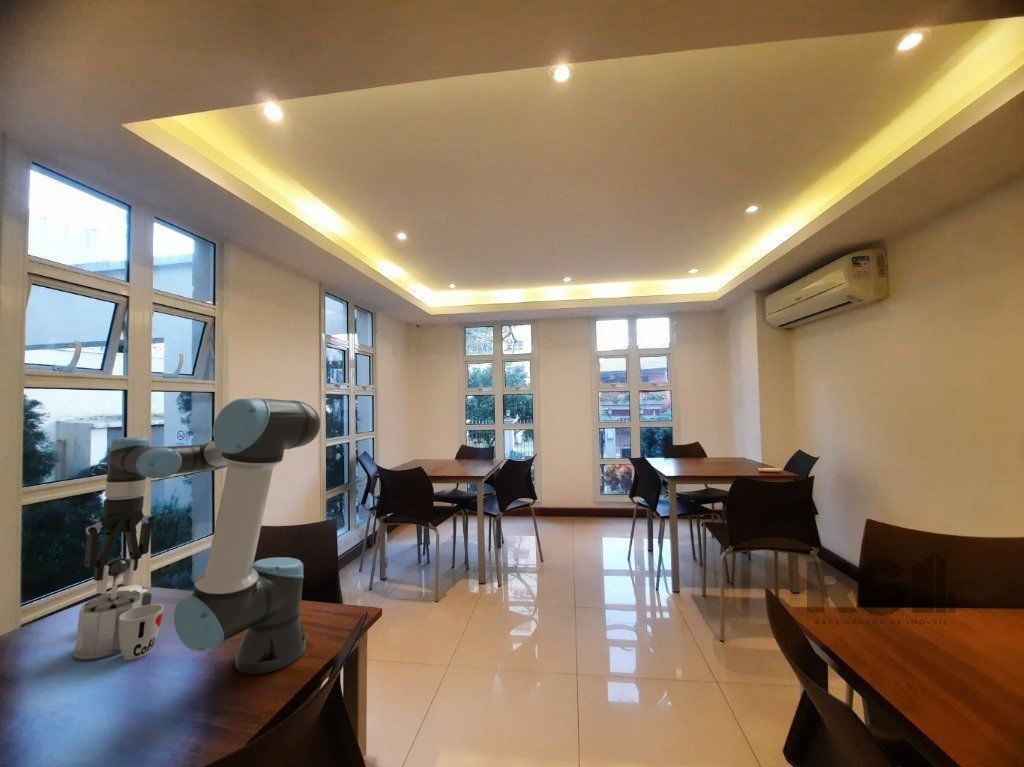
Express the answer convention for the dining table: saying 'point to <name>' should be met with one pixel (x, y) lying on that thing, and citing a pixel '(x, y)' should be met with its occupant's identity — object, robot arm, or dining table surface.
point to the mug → (131, 589)
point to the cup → (139, 630)
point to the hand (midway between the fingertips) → (114, 588)
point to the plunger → (116, 573)
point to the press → (104, 624)
